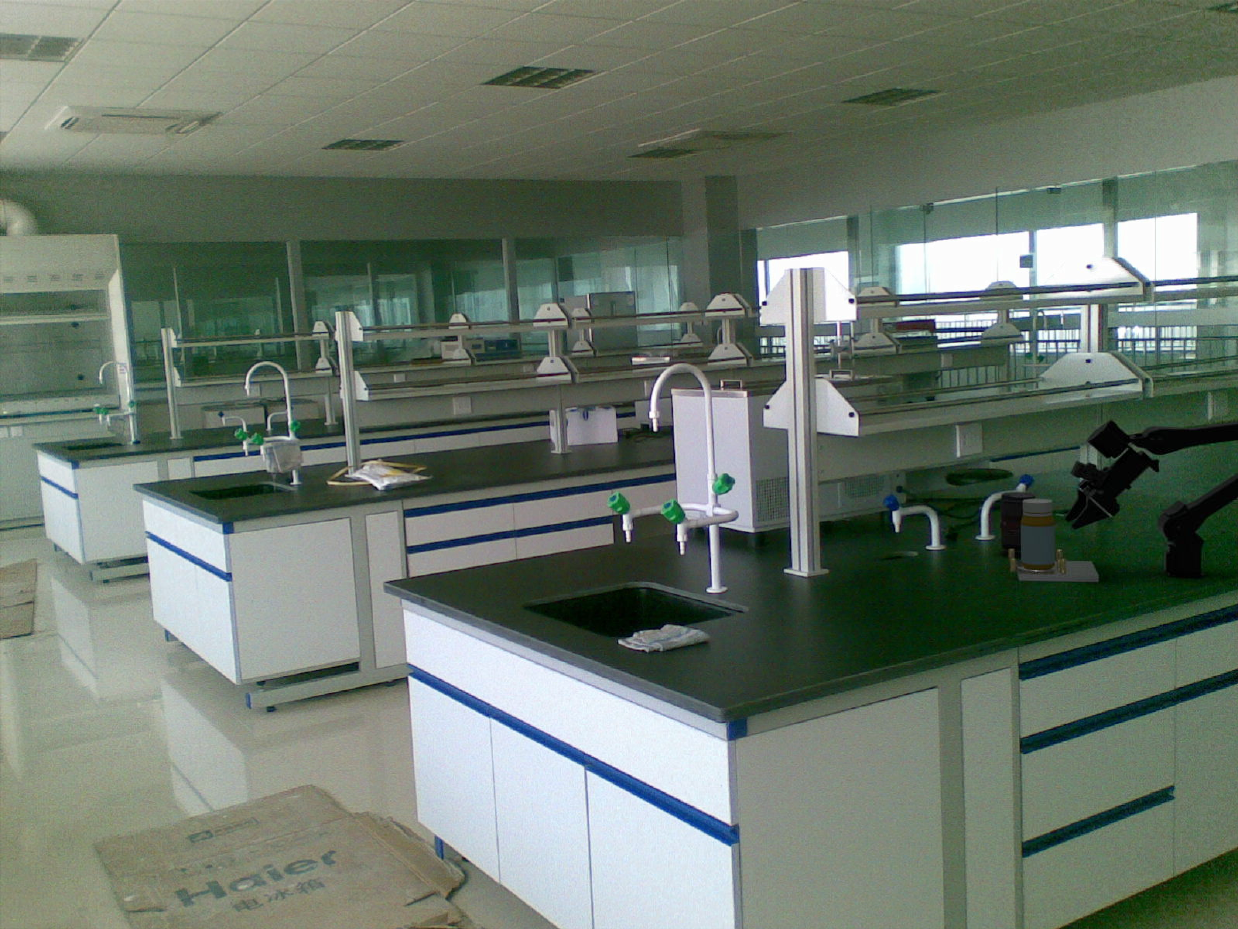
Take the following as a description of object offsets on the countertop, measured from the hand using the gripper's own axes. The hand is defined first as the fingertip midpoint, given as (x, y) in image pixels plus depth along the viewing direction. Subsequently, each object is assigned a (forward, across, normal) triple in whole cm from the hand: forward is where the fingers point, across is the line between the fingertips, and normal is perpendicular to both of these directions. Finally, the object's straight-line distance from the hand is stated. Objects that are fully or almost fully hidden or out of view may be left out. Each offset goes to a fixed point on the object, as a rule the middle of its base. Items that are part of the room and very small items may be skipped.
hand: (1069, 524), depth 239 cm
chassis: (+10, 0, +6) cm, 12 cm away
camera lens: (+14, -20, +2) cm, 25 cm away
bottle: (+12, 0, +2) cm, 12 cm away
